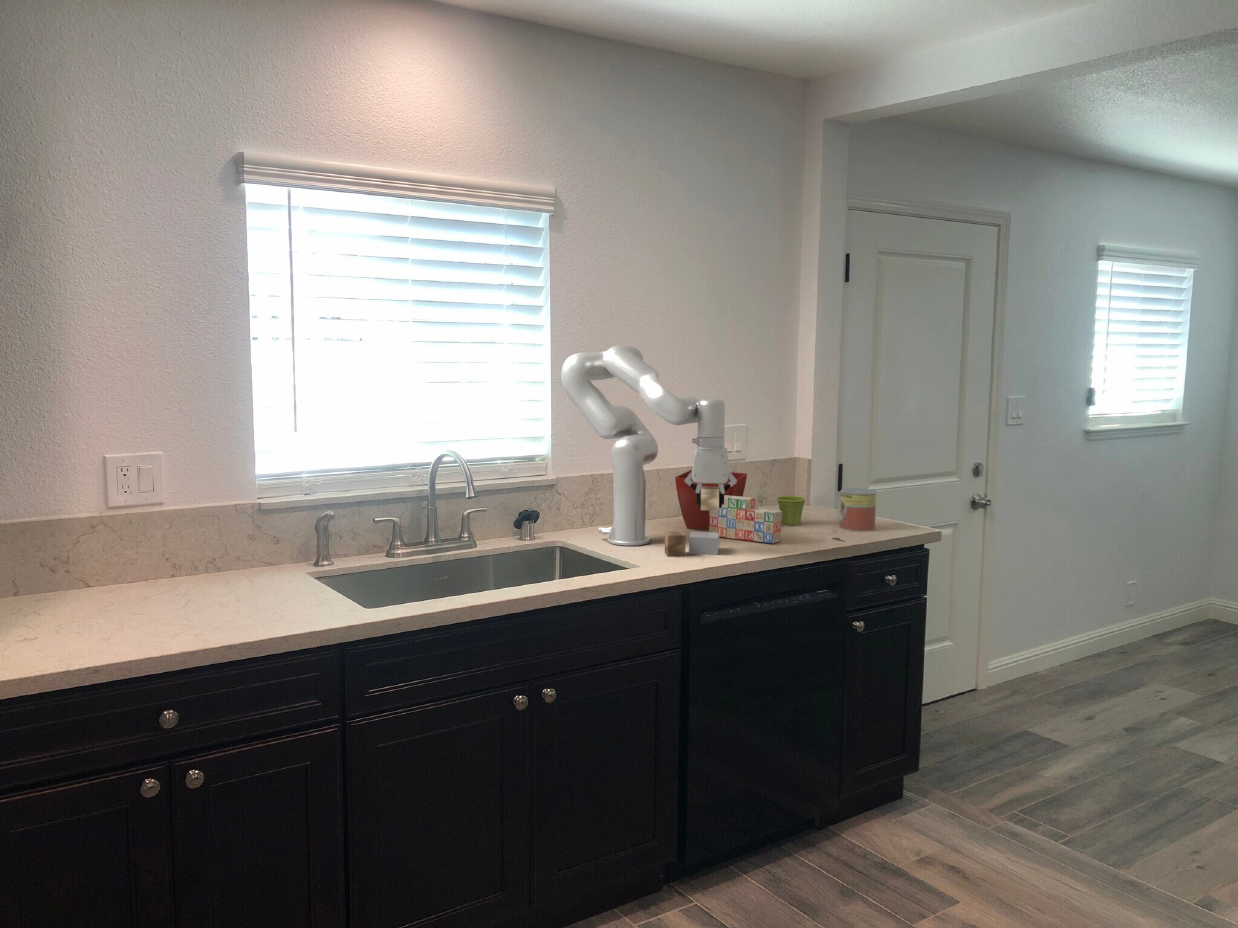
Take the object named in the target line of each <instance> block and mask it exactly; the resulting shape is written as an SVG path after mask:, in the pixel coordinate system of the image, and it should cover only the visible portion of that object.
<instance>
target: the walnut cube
mask: <svg viewBox="0 0 1238 928" xmlns="http://www.w3.org/2000/svg"><path fill="white" fill-rule="evenodd" d="M686 537H687V535H686V534H685V533H684V532H683V531H665V533H664V554H665V555H666V557H669V558H670V557H675V558H676V557H686V546H687V545H686V541H687V538H686Z"/></svg>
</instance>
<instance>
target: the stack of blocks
mask: <svg viewBox="0 0 1238 928" xmlns="http://www.w3.org/2000/svg"><path fill="white" fill-rule="evenodd" d="M755 502H756V498H755V497H748V496H743V497H741V496H729V495H724V505H722V507H721V508H719V511H710V521H709V525H710V526H709V530H708V532H718V533H720V538H727V539H734V540H742V541H743V540H744V541H751V542H758V543H759V542H760V543H767V544H775V543H778V542H780V541H781V539H782V524H781V521H782V511H780V509H779V510H778V509H769V508H762V507H755V505H756V503H755Z"/></svg>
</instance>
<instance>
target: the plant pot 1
mask: <svg viewBox="0 0 1238 928" xmlns="http://www.w3.org/2000/svg"><path fill="white" fill-rule="evenodd" d="M691 472H692V469H690V470H688V471H685V472H684V473H681V474H679V475H677V476H675V478H674V479H675V488H676V493H677V494H676V495H677V499H678V503H679V506H680V507H679V508H680V512H681V515H682V519H683V523H684V524H685V527H686V528H687V529H694V530H695V529H696V530H706V531H709V526H710V525H709V521H710V510H701V507H699V504H697V493H696V492H695V491H694V490H693V489H692V488H691V487H690V486H689V485H688V484H687V483H685V481H684V480H685V479H686V478H687V476H688V475H689V474H690V473H691ZM730 473H731V474H732V475H733V476H734V478H735V479H736V480H737V482H736V484H734V485H733V486H732V487H730V488H729V489H728V490H727V491H726V492H725V493H724V495H729V496H741V497H744V493H745V489H746V483H747V477H748V474H747V472H746V473H744V472H733V471H731V472H730ZM691 481H692V482H693V480H692V478H691ZM730 481H731V480H730V479H729V478H728V481H727V482H726V483H724V487H725V486H726V485H727V484H728V483H729V482H730ZM693 483H695V482H693ZM695 484H696V486H697V484H698V483H695ZM702 487H719V484H702ZM702 487H701V488H702Z"/></svg>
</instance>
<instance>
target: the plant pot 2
mask: <svg viewBox="0 0 1238 928" xmlns="http://www.w3.org/2000/svg"><path fill="white" fill-rule="evenodd" d="M776 501H777V504H778V507H779V510H780V511H782V521H781V526H782V525H783V526H786V527H787V526H793V527H797V526H800V525H801V521H802V515H803V508H804V505H805V502H806V501H807V498H805V497H802V496H796V495H783V496H778V497H776Z"/></svg>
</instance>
